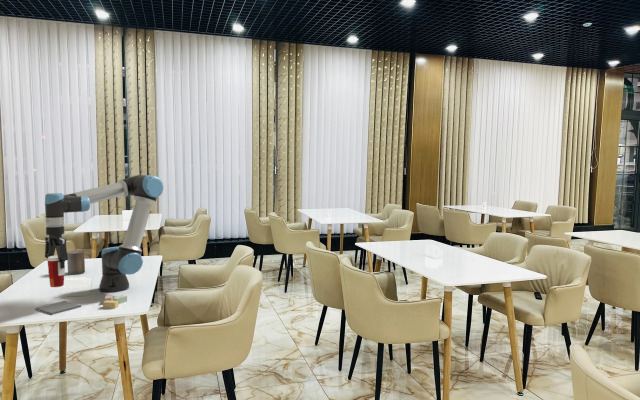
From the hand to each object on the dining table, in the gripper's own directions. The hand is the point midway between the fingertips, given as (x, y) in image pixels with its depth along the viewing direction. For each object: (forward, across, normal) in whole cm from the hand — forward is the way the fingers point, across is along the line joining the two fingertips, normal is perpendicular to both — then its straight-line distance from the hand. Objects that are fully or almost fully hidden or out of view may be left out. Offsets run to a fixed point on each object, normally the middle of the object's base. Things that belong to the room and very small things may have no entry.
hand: (56, 273), depth 223 cm
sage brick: (+17, +17, +22) cm, 32 cm away
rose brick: (+17, +11, +19) cm, 28 cm away
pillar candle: (+17, -62, +46) cm, 79 cm away
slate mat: (+17, 0, 0) cm, 17 cm away
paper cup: (+6, 0, 0) cm, 6 cm away
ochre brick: (+17, +20, +15) cm, 30 cm away
